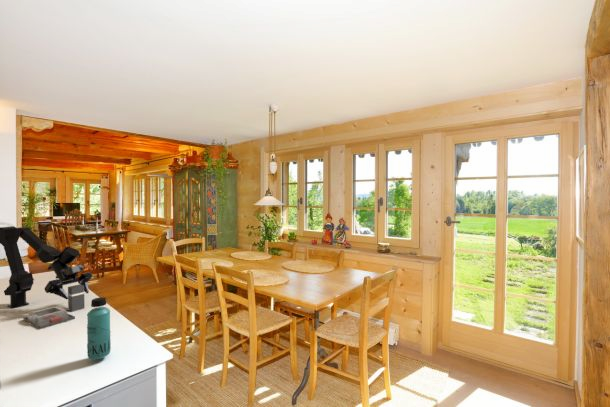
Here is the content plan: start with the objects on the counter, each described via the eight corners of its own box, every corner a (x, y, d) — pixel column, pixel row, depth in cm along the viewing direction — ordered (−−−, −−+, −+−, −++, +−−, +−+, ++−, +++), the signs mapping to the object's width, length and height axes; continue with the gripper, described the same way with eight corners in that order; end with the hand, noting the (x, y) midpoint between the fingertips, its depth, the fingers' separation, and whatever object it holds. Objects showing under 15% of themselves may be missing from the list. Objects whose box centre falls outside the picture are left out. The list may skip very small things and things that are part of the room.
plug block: (68, 310, 146) (67, 286, 145) (80, 306, 150) (80, 284, 150) (72, 311, 143) (71, 288, 143) (84, 308, 148) (84, 285, 148)
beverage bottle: (94, 354, 104) (93, 295, 104) (115, 353, 104) (114, 294, 104) (82, 365, 97) (81, 302, 97) (104, 364, 98) (103, 301, 98)
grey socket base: (23, 320, 134) (23, 313, 134) (56, 311, 144) (56, 304, 144) (40, 329, 125) (40, 321, 125) (74, 318, 135) (74, 312, 135)
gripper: (47, 263, 139) (64, 290, 135) (89, 256, 156) (105, 279, 153) (37, 279, 142) (53, 306, 138) (79, 270, 159) (94, 294, 156)
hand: (78, 295), depth 146 cm, fingers open, 9 cm apart
